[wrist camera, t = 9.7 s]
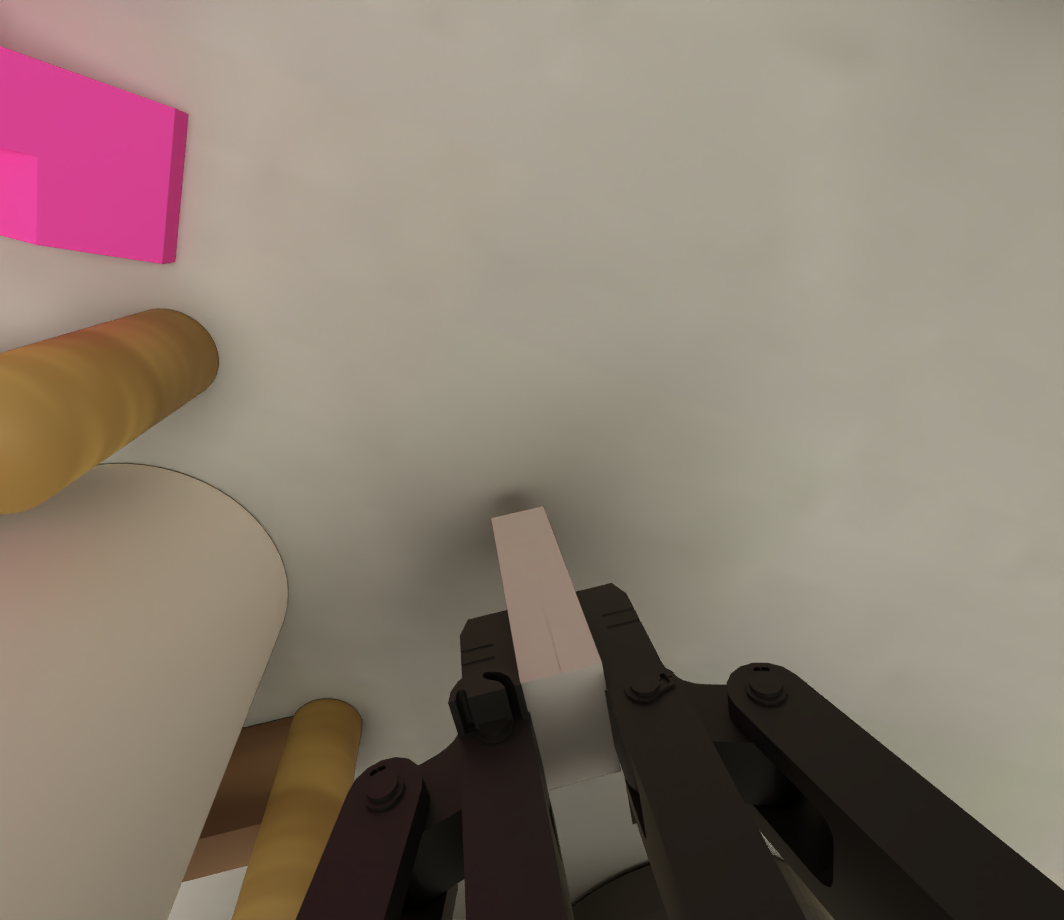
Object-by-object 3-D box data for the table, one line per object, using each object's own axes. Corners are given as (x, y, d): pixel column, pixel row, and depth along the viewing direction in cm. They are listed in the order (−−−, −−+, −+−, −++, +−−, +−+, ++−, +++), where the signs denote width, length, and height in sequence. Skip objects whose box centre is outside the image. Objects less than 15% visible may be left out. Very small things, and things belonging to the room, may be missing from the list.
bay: (370, 741, 21) (339, 963, 15) (-7, 834, 21) (-211, 1111, 14) (197, 300, 15) (19, 355, 9) (-351, 407, 14) (-986, 554, 8)
